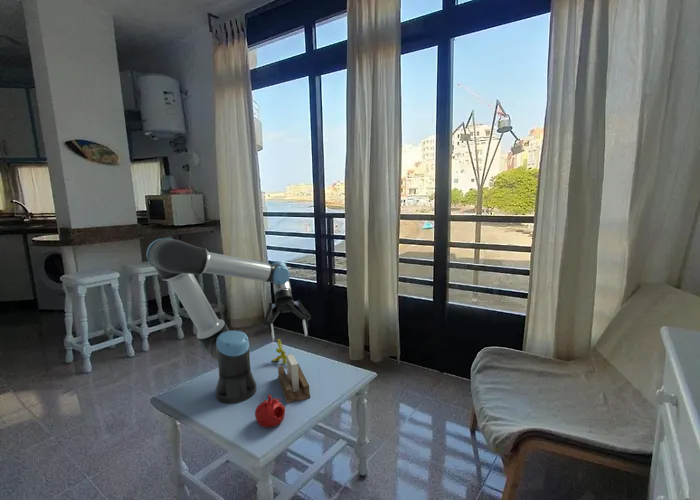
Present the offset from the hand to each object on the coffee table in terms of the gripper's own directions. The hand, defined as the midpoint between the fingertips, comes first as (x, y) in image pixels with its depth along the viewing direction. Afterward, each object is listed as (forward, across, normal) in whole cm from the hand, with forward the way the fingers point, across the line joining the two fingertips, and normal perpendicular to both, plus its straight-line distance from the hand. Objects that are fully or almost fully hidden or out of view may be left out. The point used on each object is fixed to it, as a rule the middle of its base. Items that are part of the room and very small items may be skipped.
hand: (290, 337), depth 144 cm
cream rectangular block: (+18, +1, -6) cm, 19 cm away
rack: (+18, +1, -7) cm, 20 cm away
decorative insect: (+2, +2, -24) cm, 24 cm away
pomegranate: (+32, +12, +6) cm, 35 cm away
